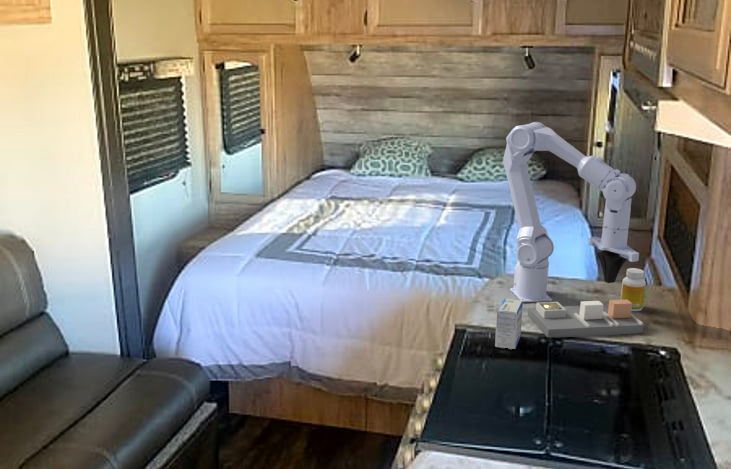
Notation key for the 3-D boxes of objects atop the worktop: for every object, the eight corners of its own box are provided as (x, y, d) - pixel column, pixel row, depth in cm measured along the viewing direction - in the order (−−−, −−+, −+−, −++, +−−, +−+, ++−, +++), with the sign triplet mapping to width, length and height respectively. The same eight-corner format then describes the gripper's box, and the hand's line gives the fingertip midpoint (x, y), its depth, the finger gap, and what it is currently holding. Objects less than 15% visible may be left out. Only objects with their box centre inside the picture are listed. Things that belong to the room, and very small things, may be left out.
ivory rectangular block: (579, 315, 172) (580, 301, 171) (597, 314, 173) (598, 300, 172) (583, 319, 170) (585, 305, 169) (602, 318, 170) (603, 304, 169)
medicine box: (515, 350, 158) (517, 313, 156) (494, 347, 160) (496, 310, 157) (520, 336, 166) (523, 300, 163) (500, 333, 167) (503, 297, 165)
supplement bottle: (644, 312, 180) (648, 274, 177) (621, 310, 181) (625, 273, 178) (640, 304, 185) (645, 267, 182) (618, 303, 186) (622, 266, 183)
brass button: (540, 308, 175) (541, 302, 174) (555, 308, 175) (555, 302, 175) (546, 314, 171) (546, 308, 171) (561, 313, 172) (561, 307, 171)
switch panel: (527, 315, 177) (528, 300, 176) (615, 311, 180) (617, 296, 179) (547, 337, 165) (549, 322, 164) (642, 333, 168) (644, 317, 167)
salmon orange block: (607, 314, 173) (609, 300, 172) (625, 313, 173) (627, 299, 173) (612, 318, 170) (614, 304, 170) (630, 317, 171) (632, 303, 170)
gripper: (581, 220, 177) (576, 274, 181) (624, 236, 165) (617, 294, 168) (604, 218, 180) (599, 271, 184) (648, 233, 167) (641, 290, 171)
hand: (609, 281), depth 176 cm, fingers closed
